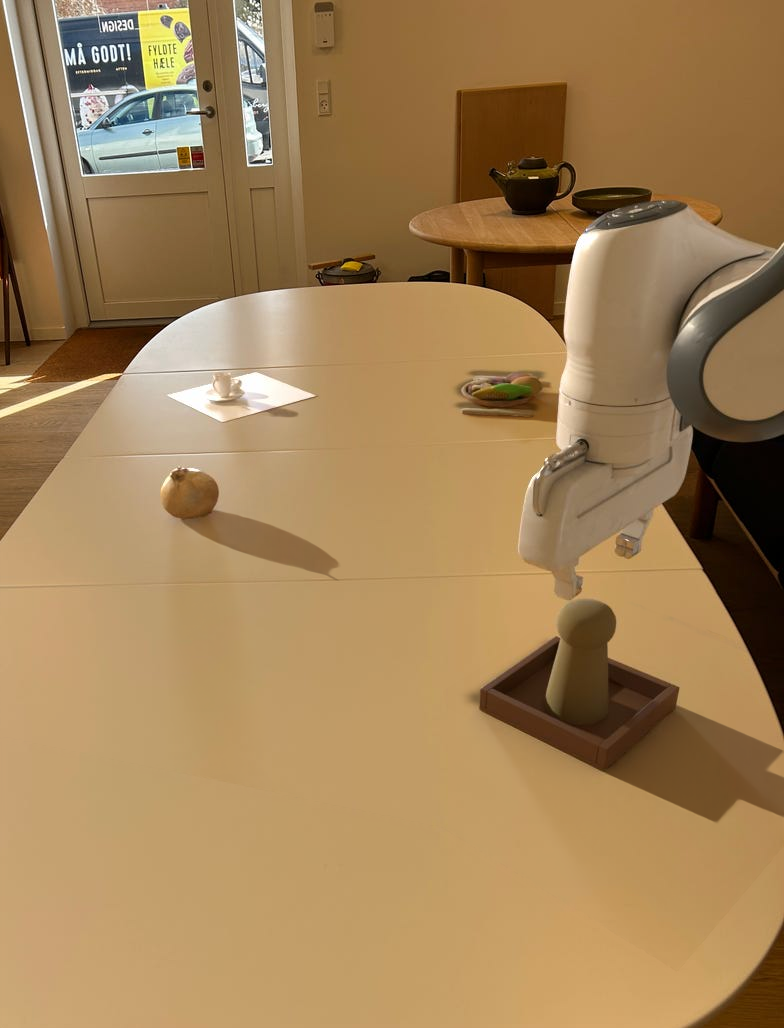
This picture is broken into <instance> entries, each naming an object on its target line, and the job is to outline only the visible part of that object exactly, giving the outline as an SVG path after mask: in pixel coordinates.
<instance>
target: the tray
mask: <svg viewBox="0 0 784 1028" xmlns="http://www.w3.org/2000/svg"><path fill="white" fill-rule="evenodd" d="M560 639H561V637H560V636H554V637H552V638H551V639H549V640H548V641H547V642H545V643H544V644H542V645H540V646H539V647H538V648H537V649H535V650H534V651H532V652H531V653H530V654H528V655H527V656H525V657H523V658H522V659H521V660H519V661H518V662H516V663H515V664H513V665H512V666H511V667H509V668H507V669H506V670H505V671H503V672H502V673H501V674H499V675H498V676H496V677H495V678H493V679H491V681H489V682H488V683H486V684H485V685H483V686H482V687H481V688H480V690H479V705H478V709H479V710H480V711H481V712H483V713H485V714H487V715H489V716H492V717H493V718H496V719H497V720H499V721H502V722H504V723H505V724H507V725H510V726H511V727H513V728H515V729H517V730H519V731H522V732H523V733H526V734H528V735H529V736H531V737H534V738H535V739H537V740H540V741H542V742H543V743H546V744H547V745H550V746H552V747H554V748H555V749H558V750H560V751H562V752H564V753H566V754H567V755H570V756H572V757H574V758H575V759H577V760H579V761H581V762H583V763H585V764H587V765H589V766H592V767H594V768H595V769H597V770H599V771H601V772H605V771H606V770H607V769H608V768H609V767H611V765H613V764H614V763H615V762H616V761H618V759H620V758H621V757H622V756H623V755H624V754H625V753H627V752H628V751H629V750H630V749H631V748H633V747H634V745H636V744H637V743H638V742H639V741H640V740H641V739H643V738H644V737H645V736H646V735H647V734H649V732H650V731H651V730H653V729H654V728H655V727H656V726H657V725H658V724H660V723H661V722H662V721H664V719H666V718H667V717H668V716H669V715H670V714H671V713H672V712H673V711H675V709H676V708H677V702H678V698H679V693H680V686H678V685H676V684H673V683H670V682H668V681H666V680H663V679H661V678H658V677H657V676H653V675H651V674H649V673H646V672H644V671H641V670H639V669H637V668H635V667H632V666H630V665H627V664H624V663H622V662H620V661H618V660H615V659H614V658H613V659H612V658H610V657H608V698H609V709H608V714H607V715H606V717H605V718H604V719H602V720H601V721H599V722H597V723H593V724H589V725H575V724H568V723H565V722H562V721H559V720H557V719H555V718H554V717H552V716H551V715H550V714H549V713H548V712H547V711H546V710H545V707H544V705H543V704H544V698H545V695H546V691H547V687H548V684H549V680H550V676H551V672H552V669H553V665H554V661H555V658H556V654H557V650H558V647H559V643H560Z"/></svg>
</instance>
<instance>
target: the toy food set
mask: <svg viewBox="0 0 784 1028" xmlns="http://www.w3.org/2000/svg"><path fill="white" fill-rule="evenodd" d="M543 388H544V387H543V385H542V382H541V381H540V377H539V376H532V375H530V374H528V373H524V372H521V371H519V372H518V371H517V372H513V373H510V374H508V375H507V376H496V375H475V376H473V380H472V381H470V382H468V383H466V384H464V385H463V386H462V388H461V394H462V395H463V396H464V397H465V398H466V399H467V400H468V401H469V402H471V403H473V404H476V405H480V406H483V405H484V407H491V406H496V407H495V408H492V409H491V408H490V409H489V408H473V407H471V408H470V407H463V408H461V409H460V413H461V415H475V416H477V415H479V416H497V415H515V416H514V417H518V416H532V417H533V416H534V413H535V412H534V410H532V409H518V408H517V409H516V408H501V407H500V406H508V407H512V406H511V405H515V406H518V405H517V404H520V405H522V404H521V403H523V404H525V403H527V402H529V401H530V400H531V399H532V398H534V396H536V395H537V394H540V392H542V391H543ZM528 400H529V401H528ZM526 401H527V402H526ZM524 402H525V403H524ZM516 415H517V416H516Z"/></svg>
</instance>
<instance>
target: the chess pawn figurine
mask: <svg viewBox="0 0 784 1028" xmlns="http://www.w3.org/2000/svg"><path fill="white" fill-rule="evenodd" d="M555 626H556V631H557V634H558V636H559V638H561V639H560V643H559V647H558V650H557V654H556V658H555V661H554V665H553V669H552V672H551V676H550V680H549V684H548V687H547V691H546V695H545V698H544V704H543V705H544V707H545V710H546V711H547V712H548V713H549V714H550V715H551V716H552V717H554V718H555V719H557V720H559V721H562V722H565V723H568V724H575V725H589V724H593V723H597V722H599V721H601V720H602V719H604V718H605V717H606V715H607V714H608V709H609V698H608V658H609V652H608V650H609V649H608V647H609V645H608V643H609V642H610V641H611V640H612V639H613V637H614V635H615V633H616V629H617V615H616V614H615V613H614V610H613V609H612V607H610V605H608V604H607V603H605V602H603V601H600V600H598V599H594V598H576V599H571V600H568V601H567V602H566V603H565V604H563V606H562V607H561V608H560V609H559V610H558V613H557V616H556V625H555Z"/></svg>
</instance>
